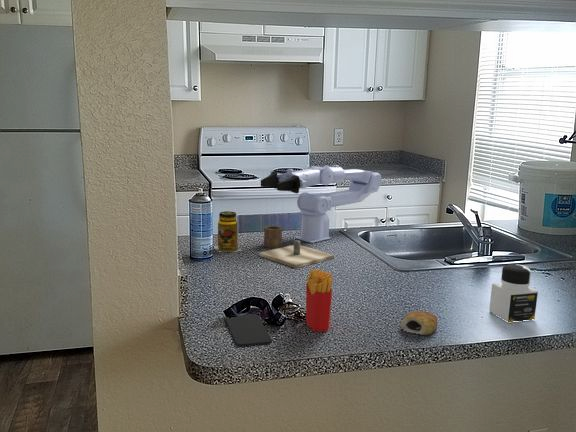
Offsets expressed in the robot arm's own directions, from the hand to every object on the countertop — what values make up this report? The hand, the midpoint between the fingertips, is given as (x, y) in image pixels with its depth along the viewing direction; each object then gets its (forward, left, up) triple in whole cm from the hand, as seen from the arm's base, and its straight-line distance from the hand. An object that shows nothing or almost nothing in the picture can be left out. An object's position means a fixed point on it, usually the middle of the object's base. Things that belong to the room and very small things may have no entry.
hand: (269, 185), depth 176 cm
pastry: (+16, +67, -21) cm, 72 cm away
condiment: (+10, -8, -21) cm, 24 cm away
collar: (-4, -2, -20) cm, 21 cm away
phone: (+45, +44, -21) cm, 67 cm away
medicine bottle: (-6, +77, -21) cm, 80 cm away
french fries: (+32, +52, -21) cm, 65 cm away
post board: (-1, +12, -20) cm, 24 cm away
